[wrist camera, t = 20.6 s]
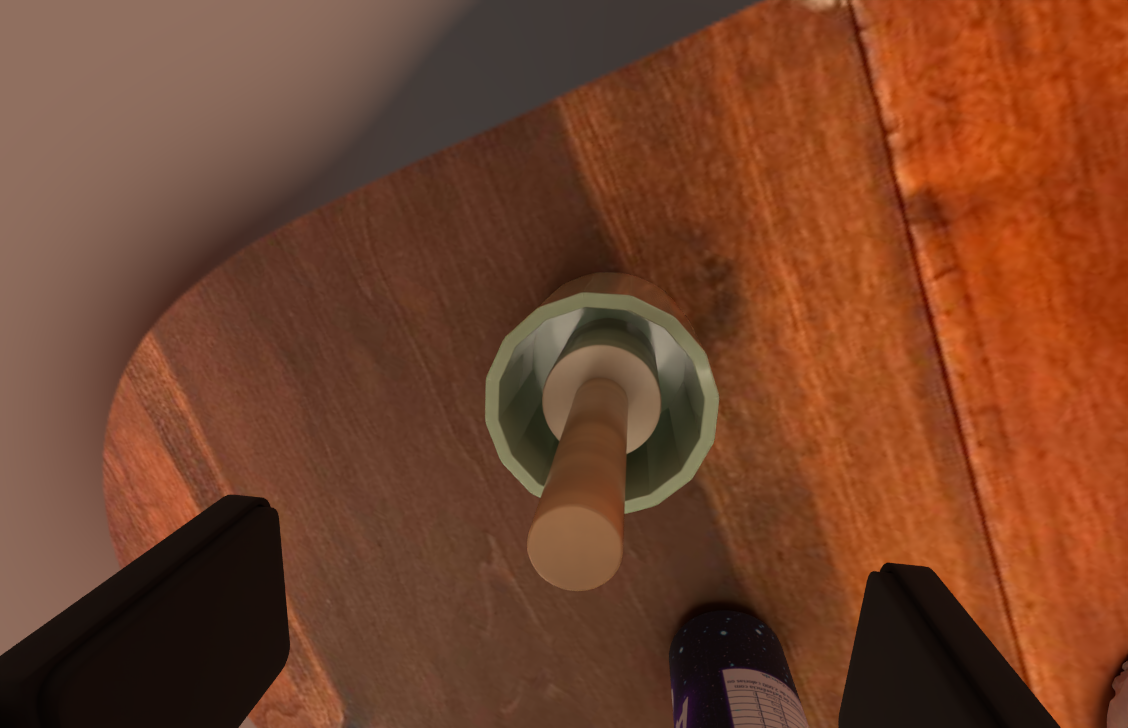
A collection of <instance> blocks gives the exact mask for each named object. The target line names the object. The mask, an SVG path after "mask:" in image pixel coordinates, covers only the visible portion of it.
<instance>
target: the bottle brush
mask: <svg viewBox="0 0 1128 728" xmlns="http://www.w3.org/2000/svg"><path fill="white" fill-rule="evenodd" d="M661 403H662V400H661V391H660V384H659V378H658V371H657V364H656V357H655V353H654V349H653V347H652V345H651V343H650V341H649V339H648V338H647V337H646V335H645V334H644V333H643V332H642V331H641V330H640V329H638V328H637V327H636V326H634V325H632V324H631V323H629V322H626V321H624V320H620V319H615V318H601V319H596V320H592V321H590V322H587V323H585V324H584V325H582V326H581V327H579V328H578V329H577V330H576V331H575V332H574V333H573V334H572V335H571V336H570V337H569V339H568V340H567V342H566V344H565V346H564V347H563V349H562V351H561V353H560V355H559V357H558V358H557V360H556V362H555V364H554V366H553V367H552V369H551V371H550V373H549V375H548V377H547V379H546V382H545V384H544V388H543V394H542V407H543V413H544V416H545V419H546V422H547V424H548V426H549V428H550V430H551V431H552V433H553V434H554V435H555V437H556V438H557V439H558V440H559V444H558V447H557V450H556V453H555V456H554V459H553V462H552V465H551V468H550V471H549V474H548V477H547V480H546V483H545V486H544V489H543V492H542V495H541V498H540V501H539V503H538V506H537V509H536V512H535V515H534V518H533V521H532V524H531V527H530V530H529V533H528V537H527V551H528V555H529V558H530V561H531V563H532V565H533V567H534V568H535V570H536V571H537V572H538V573H539V575H540V576H541V577H542V578H544V579H545V580H546V581H548V582H549V583H551V584H552V585H554V586H557V587H559V588H562V589H565V590H571V591H585V590H590V589H593V588H596V587H598V586H601V585H602V584H604V583H606V582H607V581H608V580H609V579H610V578H611V577H612V576H613V575H614V574H615V573H616V571H617V570H618V568H619V566H620V564H621V561H622V556H623V539H624V512H625V484H626V457H627V454H628V453H630V452H632V451H634V450H635V449H637V448H638V447H640V446H641V445H642V444H643V443H644V442H645V441H646V440H647V439H648V438H649V437H650V436H651V434H652V433H653V431H654V430H655V428H656V425H657V423H658V421H659V417H660V413H661Z"/></svg>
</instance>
